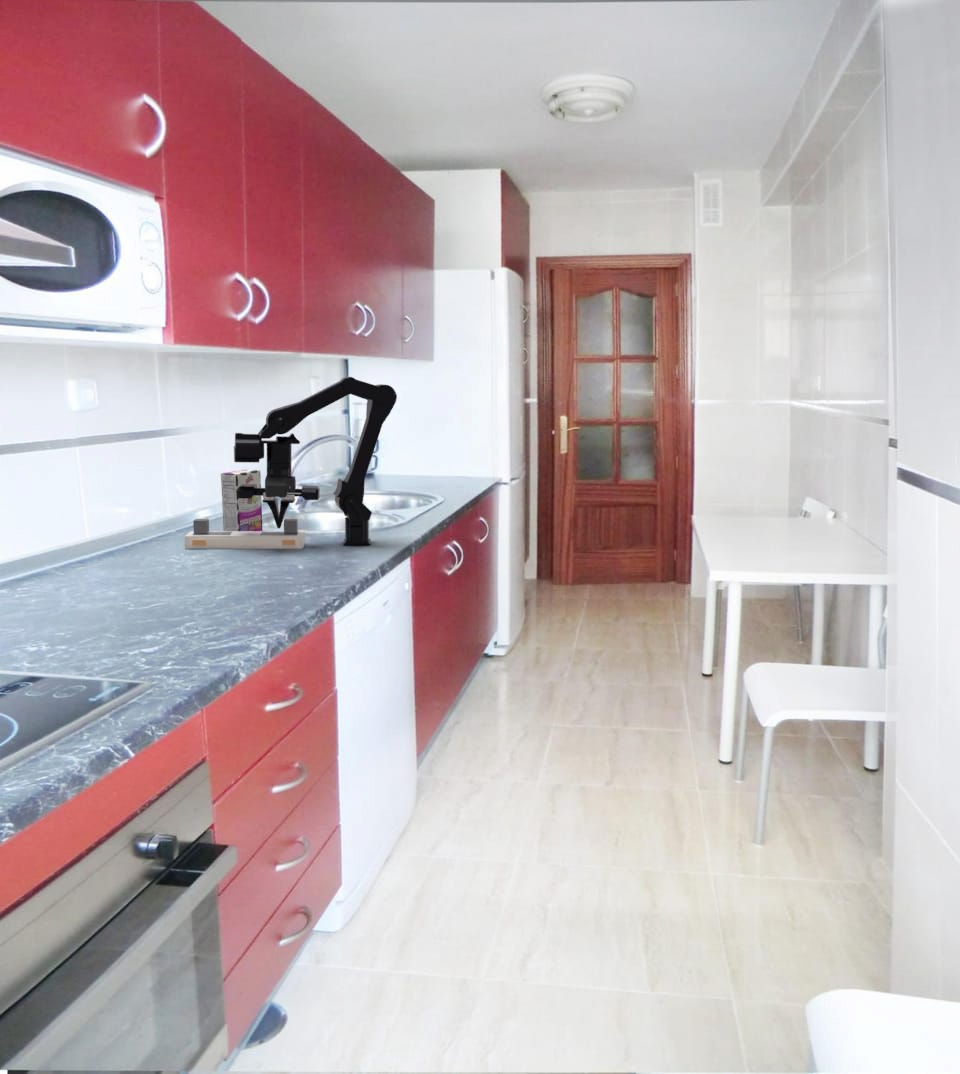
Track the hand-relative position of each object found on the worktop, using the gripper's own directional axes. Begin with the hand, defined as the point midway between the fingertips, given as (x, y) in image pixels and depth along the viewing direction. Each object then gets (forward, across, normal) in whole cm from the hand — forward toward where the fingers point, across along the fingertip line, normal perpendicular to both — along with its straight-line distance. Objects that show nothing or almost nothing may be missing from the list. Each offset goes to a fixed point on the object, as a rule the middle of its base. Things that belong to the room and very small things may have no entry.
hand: (279, 528), depth 221 cm
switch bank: (+4, -8, 0) cm, 9 cm away
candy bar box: (+5, -11, +16) cm, 19 cm away
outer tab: (+1, -18, 0) cm, 18 cm away
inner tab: (+1, +3, 0) cm, 3 cm away
